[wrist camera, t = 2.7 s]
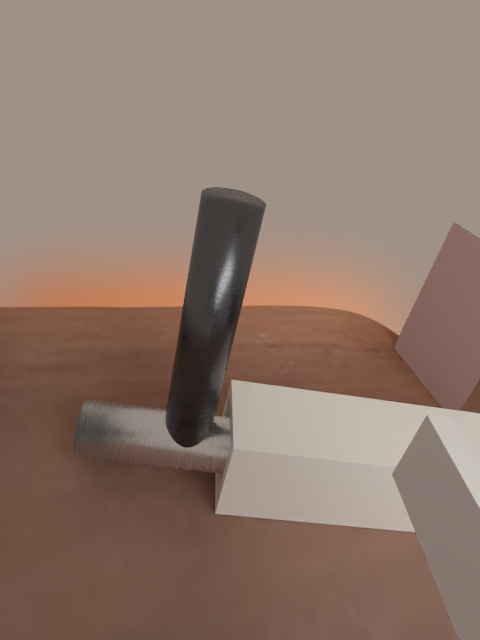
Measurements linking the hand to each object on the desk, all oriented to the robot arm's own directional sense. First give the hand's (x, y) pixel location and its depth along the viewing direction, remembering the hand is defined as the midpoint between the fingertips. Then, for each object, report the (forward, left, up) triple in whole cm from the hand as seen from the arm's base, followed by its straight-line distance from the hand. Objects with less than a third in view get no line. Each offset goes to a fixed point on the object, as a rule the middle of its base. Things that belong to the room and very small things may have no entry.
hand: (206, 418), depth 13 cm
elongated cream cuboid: (-12, -11, -16) cm, 22 cm away
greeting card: (-25, -26, -16) cm, 39 cm away
